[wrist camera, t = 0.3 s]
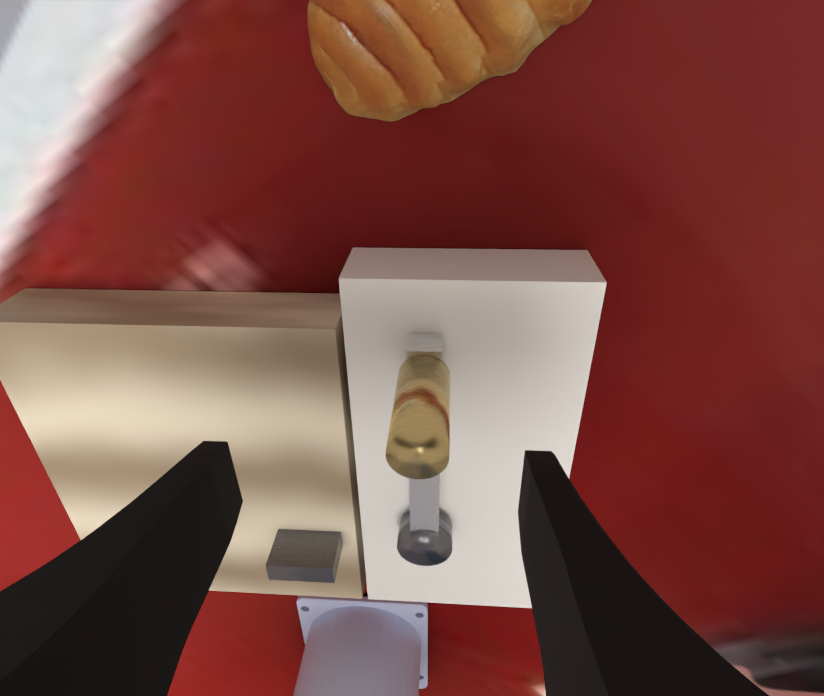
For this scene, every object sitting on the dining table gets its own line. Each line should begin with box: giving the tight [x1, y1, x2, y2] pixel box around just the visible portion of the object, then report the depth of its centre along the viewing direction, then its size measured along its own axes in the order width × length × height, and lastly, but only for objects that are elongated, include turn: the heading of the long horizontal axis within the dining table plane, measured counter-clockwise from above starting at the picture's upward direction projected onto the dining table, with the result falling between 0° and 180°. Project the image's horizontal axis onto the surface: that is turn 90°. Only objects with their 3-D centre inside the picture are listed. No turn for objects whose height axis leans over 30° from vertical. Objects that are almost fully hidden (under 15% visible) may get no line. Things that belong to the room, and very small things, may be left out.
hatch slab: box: [0, 288, 366, 599], centre depth 25 cm, size 16×14×3 cm
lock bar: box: [386, 334, 452, 566], centre depth 19 cm, size 11×2×5 cm, turn 1°
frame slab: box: [339, 247, 607, 608], centre depth 24 cm, size 18×9×3 cm, turn 1°
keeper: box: [265, 529, 343, 583], centre depth 24 cm, size 1×3×2 cm, turn 91°
